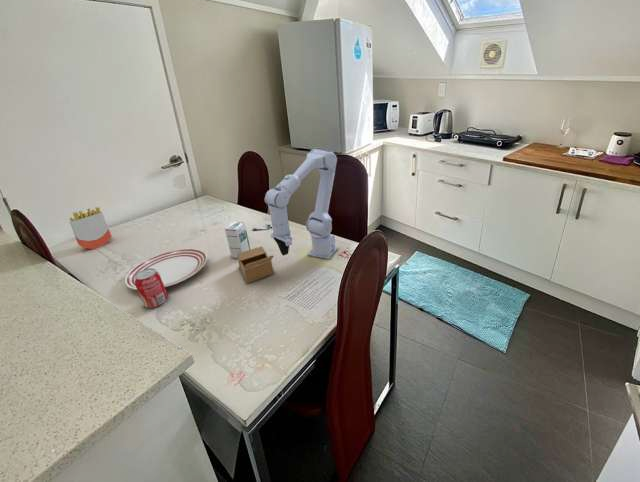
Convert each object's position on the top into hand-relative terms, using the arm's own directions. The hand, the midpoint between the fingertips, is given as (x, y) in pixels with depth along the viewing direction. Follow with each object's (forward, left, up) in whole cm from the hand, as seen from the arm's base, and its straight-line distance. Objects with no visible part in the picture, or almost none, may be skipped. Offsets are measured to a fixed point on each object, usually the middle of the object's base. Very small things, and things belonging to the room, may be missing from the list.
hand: (284, 253), depth 116 cm
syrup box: (+27, -6, -10) cm, 29 cm away
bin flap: (+7, +6, -1) cm, 10 cm away
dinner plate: (+45, +13, -10) cm, 48 cm away
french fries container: (+96, +7, -10) cm, 97 cm away
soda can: (+35, +27, -10) cm, 45 cm away
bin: (+13, +2, -9) cm, 16 cm away
